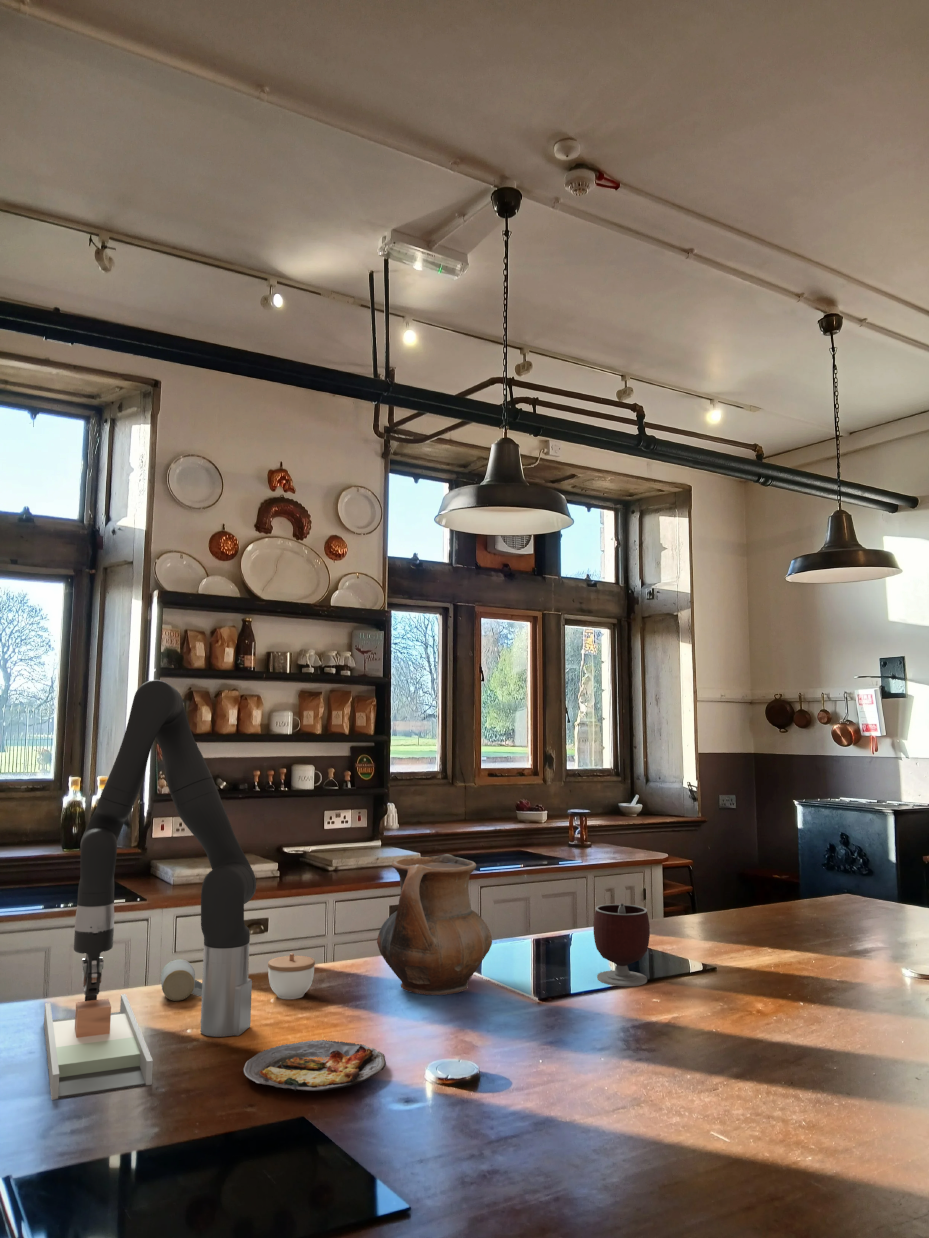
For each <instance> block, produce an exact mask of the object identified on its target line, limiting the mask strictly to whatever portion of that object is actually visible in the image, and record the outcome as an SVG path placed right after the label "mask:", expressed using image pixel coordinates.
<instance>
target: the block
mask: <svg viewBox="0 0 929 1238" xmlns="http://www.w3.org/2000/svg"><path fill="white" fill-rule="evenodd" d="M111 1013H112V1005H111V1002H110V999H109V998H100V999H97V1000H91V1001H85V1000H84V1001H83V1000H82V1001H76V1002H75V1016H74V1017H75V1033H76V1038H79V1037H87V1036H95V1035H103V1034H110V1020H111Z"/></svg>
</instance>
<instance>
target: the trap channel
mask: <svg viewBox="0 0 929 1238" xmlns="http://www.w3.org/2000/svg"><path fill="white" fill-rule="evenodd" d="M119 1008H120V1009H119V1011H116V1012H115V1011H114V1012H111V1020H110V1034H103V1035H95V1036H87V1037H79V1038H76V1033H75V1016H72V1017H65V1018H57V1019H53V1013H52V1012H53V1011H52V1004H51V1001H49V1002H45V1003H44V1014H43V1015H44V1016H43V1017H44V1018H43V1025H44V1036H45V1037H44V1039H45V1048H46V1059H47V1068H48V1069H49V1070H48V1078H49V1088H50V1098H51V1100H52V1101H53V1100H59V1099H66V1098H72V1097H80V1096H86V1095H93V1094H98V1093H99V1094H100V1093H105V1092H112V1091H119V1090H126V1089H133V1088H139V1087H144V1086H151V1085H152V1084H153V1067H154V1066H153V1064H154V1063H153V1062H154V1060H153V1057H152V1055H151V1053H150V1050H149V1047H148V1045H147V1043H146V1041H145V1038H144V1035H143V1032H142V1030H141V1028H140V1026H139V1023H138V1021H137V1019H136V1016H135V1013H134V1011H133V1008H132V1006H131V1004H130V1001H129V998H128V995H127V993H123V994H122V993H121V994H120V1005H119ZM130 1037H134V1039H135V1041H136V1044H137V1047H138V1049H139V1052H140V1066H135V1067H128V1068H121V1069H114V1070H107V1071H100V1072H93V1073H86V1074H79V1075H72V1076H65V1077H59V1067H58V1059H57V1051H56V1047H61V1046H69V1045H77V1044H84V1043H92V1042H100V1041H107V1040H115V1039H123V1038H130Z"/></svg>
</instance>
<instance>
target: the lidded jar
mask: <svg viewBox="0 0 929 1238" xmlns="http://www.w3.org/2000/svg"><path fill="white" fill-rule="evenodd" d="M315 965H316V961H315V959H314V958H313V957H310V956H306V955H305V956H304V955H295V953H292V952H291V953H289V955H285V956H284V955H283V956H278V957H274V958H271V959H270V960H269V961H268V962H267V967H268V971H267V973H268V981H269V986H270V988H271V990H272V992H273V993H274V994H276V995H277V996H276V997H277V998H278V999H282V1000H296V999H300V998H303V997H304V996H305V993H307V992H308V990H309V989H310V987H311V985H312V984H313V979H314V976H315Z"/></svg>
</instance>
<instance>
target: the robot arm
mask: <svg viewBox="0 0 929 1238" xmlns="http://www.w3.org/2000/svg"><path fill="white" fill-rule="evenodd" d="M191 729H192V728H191V726H190V723H189V719H188V715H187V712H186V708H185V705H184V700H183V697H182V695H181V693H180V691H178V689H176V688H175V687H174V686H172V685H171V684H169V683H168V682H166V681H163V680H160V679H153V680H151V679H150V680H149V681H146V682H144V683H142V684H141V685H140V686H139V688H137V689H136V691H135V693H134V697H133V700H132V704H131V709H130V712H129V717H128V721H127V724H126V728H125V731H124V735H123V738H122V741H121V744H120V747H119V750H118V753H117V755H116V758H115V760H114V764H113V765H112V767H111V771H110V773H109V775H108V778H107V779H106V782H105V784H104V787H103V789H102V791H101V793H100V796H99V799H98V801H97V805H96V809H95V810H94V812H93V813H92V816H91V818H90V820H89V822H88V824H87V826H86V827H85V831H84V832H83V835H82V837H81V839H80V877H79V878H80V879H79V882H78V888H77V889H78V890H77V906H76V912H75V919H74V920H75V921H74V939H73V951H74V952H76V953H77V954H81V955H82V954H85V958H82V959H81V967H82V976H81V977H82V984H83V988H84V989H83V993H84V1001H91V1000H98V995H99V993H100V988H101V987H100V986H101V983H102V975H103V974H102V973H103V970H104V962H105V961H104V959H103V956H101V953H103V952H105V953H106V952H107V951H110V950H111V949H113V946H114V930H115V903H114V902H115V871H116V862H117V853H118V839H120V838H119V837H120V835H121V832H122V829H123V827H124V824H125V822H126V820H127V818H129V816H130V815H131V813H132V810H133V808H134V805H135V803H136V801H137V798H138V796H139V794H140V791H141V788H142V785H143V783H144V778H145V774H146V770H147V765H148V761H149V757H150V753H151V750H152V747H153V745H154V742H155V740H156V741H157V744H158V746H159V749H160V751H161V754H162V759H163V767H164V773H165V780H166V785H167V787H168V792H169V794H170V796H171V799H172V801H173V804H174V808H175V810H176V811H177V815H178V816H179V818H180V820H181V821H182V822H183V824H184V825H185V826H186V828H187V829H188V831H189V832H190V833H191V834H192V835H193V836H194V838H196V840H197V841H198V843H200V845H201V846H202V848H203V850H204V852H205V854H206V856H207V859H208V862H209V864H210V867H211V870H210V871H209V872H208V873H207V874H206V876H205V877H204V879H203V881H202V885H201V893H200V928H201V932H202V935H203V957H202V958H203V960H202V982H201V983H202V997H201V1004H200V1005H201V1007H200V1011H201V1012H200V1033H201V1034H202V1035H204V1036H207V1037H212V1038H213V1037H217V1038H220V1037H221V1038H223V1037H231V1036H241V1035H242V1034H243V1033H244V1032H245V1031H246V1030H247V1029H249V1028H250V1027H251V1017H252V1016H251V1015H252V992H253V991H252V989H253V987H252V985H253V981H252V978H249V972H250V971H249V968H250V942H251V941H250V940H251V931H250V928H249V927H248V926H247V925H245V904H247V903H248V902H250V901H251V900H252V899H253V897H254V896H255V894H256V890H257V879H256V874H255V872H254V870H253V867H252V866H251V864H250V861H249V860H248V858H247V857H246V855H245V853H244V851H243V850H242V847H241V845H240V843H239V841H238V838H237V837H236V835H235V832H234V830H233V827H232V824H231V822H230V819H229V816H228V813H227V812H226V809H225V807H224V804H223V802H222V799H221V796H220V792H219V791H218V788H217V785H216V783H215V780H214V778H213V775H212V772H211V771H210V769H209V766H208V765H207V762H206V759H205V757H204V756H203V754H202V752H201V750H200V748H199V746H198V745H197V742H196V741H195V738H194V736H193V733H192V730H191Z"/></svg>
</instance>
